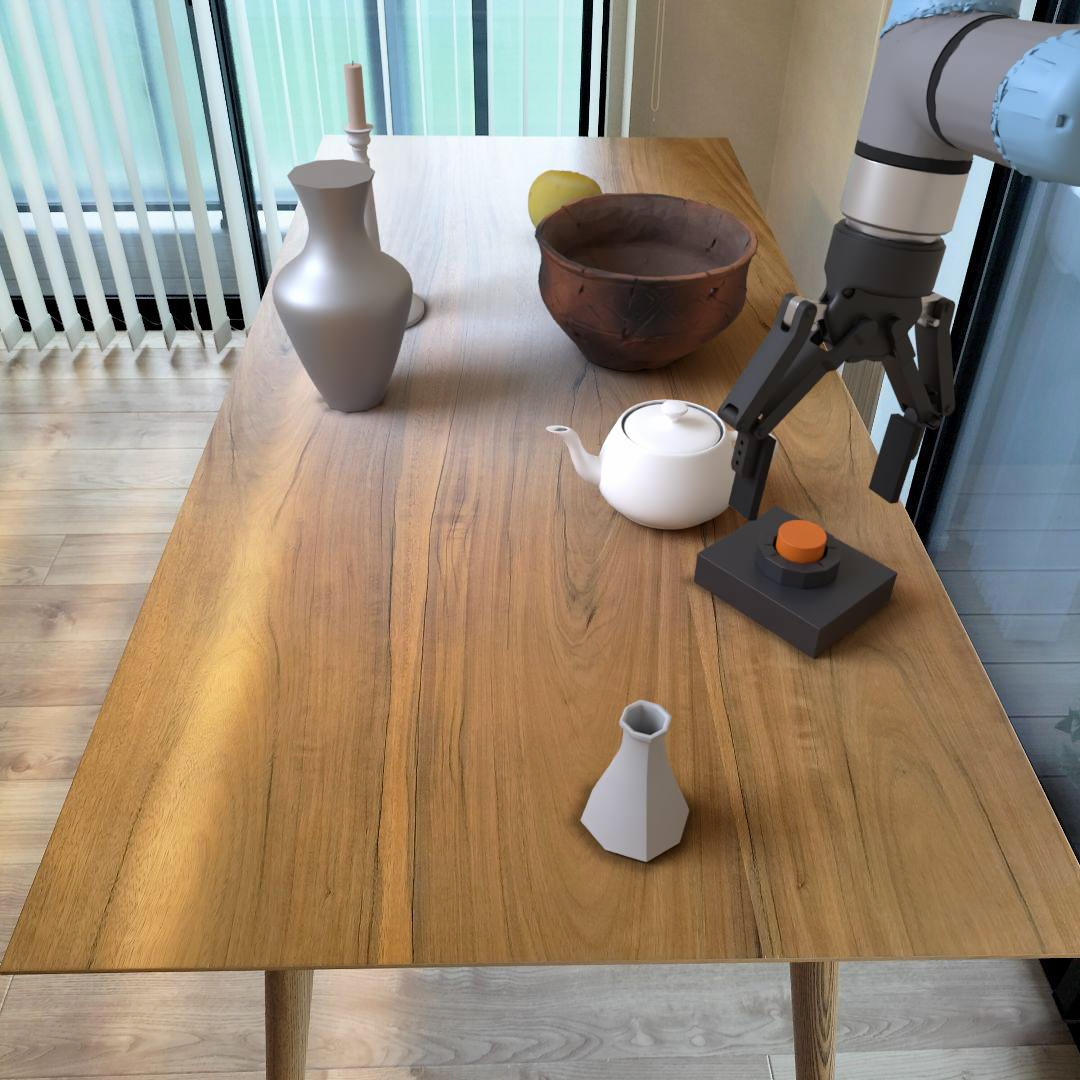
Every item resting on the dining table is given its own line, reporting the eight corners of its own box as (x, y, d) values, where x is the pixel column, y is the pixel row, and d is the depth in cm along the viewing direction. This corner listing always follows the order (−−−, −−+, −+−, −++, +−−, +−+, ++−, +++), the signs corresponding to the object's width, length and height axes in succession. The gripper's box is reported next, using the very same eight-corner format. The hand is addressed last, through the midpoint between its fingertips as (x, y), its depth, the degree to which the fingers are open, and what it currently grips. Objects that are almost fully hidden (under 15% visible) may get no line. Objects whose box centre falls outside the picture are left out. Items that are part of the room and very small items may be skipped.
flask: (561, 824, 74) (566, 725, 68) (621, 761, 79) (630, 662, 73) (649, 881, 71) (662, 781, 65) (706, 811, 75) (723, 711, 69)
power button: (832, 551, 92) (836, 535, 91) (804, 571, 90) (807, 554, 88) (794, 530, 94) (798, 514, 93) (766, 548, 92) (768, 532, 91)
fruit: (608, 250, 154) (612, 180, 148) (534, 255, 152) (535, 184, 146) (592, 223, 162) (595, 156, 156) (522, 227, 160) (522, 160, 154)
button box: (890, 601, 94) (902, 555, 91) (813, 658, 88) (824, 612, 85) (771, 532, 101) (779, 488, 98) (693, 581, 95) (699, 536, 92)
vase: (403, 436, 114) (386, 203, 98) (270, 425, 115) (233, 193, 100) (431, 370, 125) (419, 152, 110) (309, 361, 126) (282, 144, 111)
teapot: (753, 460, 111) (768, 367, 104) (784, 542, 100) (804, 443, 94) (540, 464, 110) (542, 370, 103) (548, 546, 99) (551, 447, 92)
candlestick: (335, 287, 142) (309, 44, 124) (431, 292, 142) (419, 48, 123) (311, 331, 132) (278, 73, 114) (414, 337, 132) (398, 78, 113)
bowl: (713, 421, 117) (731, 291, 108) (502, 379, 124) (502, 253, 114) (758, 325, 136) (777, 207, 127) (573, 293, 142) (577, 179, 133)
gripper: (986, 215, 81) (905, 468, 91) (707, 209, 71) (652, 495, 81) (1065, 243, 75) (969, 510, 86) (774, 241, 65) (704, 545, 75)
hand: (814, 504), depth 83 cm, fingers open, 13 cm apart
